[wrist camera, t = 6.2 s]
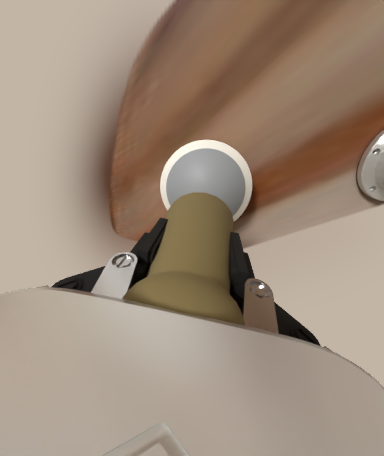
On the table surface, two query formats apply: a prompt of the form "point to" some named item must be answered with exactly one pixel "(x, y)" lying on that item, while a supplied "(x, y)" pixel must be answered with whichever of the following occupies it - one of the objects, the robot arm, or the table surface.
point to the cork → (192, 261)
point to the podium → (208, 175)
